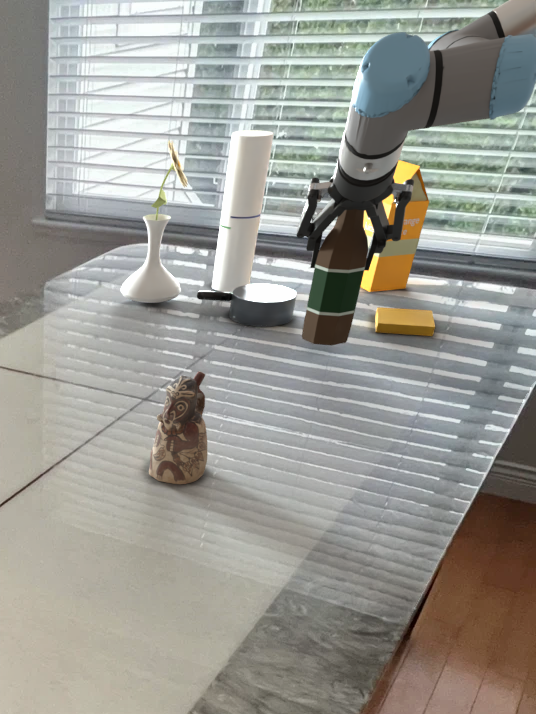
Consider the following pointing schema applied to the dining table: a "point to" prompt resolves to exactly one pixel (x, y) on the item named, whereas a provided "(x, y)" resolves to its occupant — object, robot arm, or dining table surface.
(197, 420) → the figurine
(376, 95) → the robot arm
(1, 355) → the dining table surface
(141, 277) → the flower in vase
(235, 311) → the steel pan
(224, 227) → the cylindrical container
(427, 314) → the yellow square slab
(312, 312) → the beer bottle
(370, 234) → the orange juice
